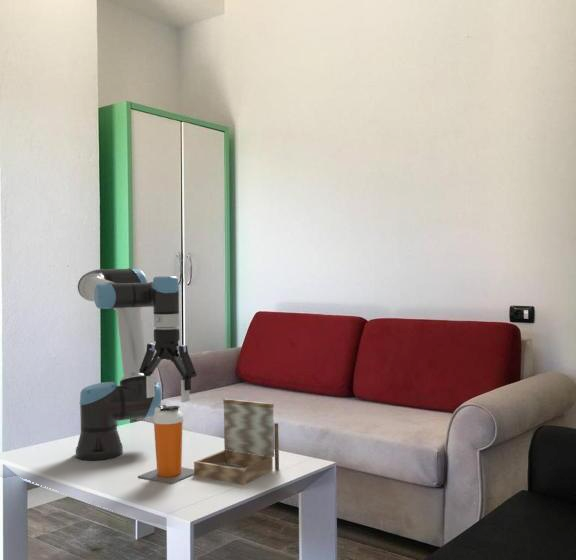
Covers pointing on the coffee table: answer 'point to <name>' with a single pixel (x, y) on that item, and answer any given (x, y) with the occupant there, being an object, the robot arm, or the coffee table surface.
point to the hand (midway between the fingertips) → (167, 399)
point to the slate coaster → (154, 476)
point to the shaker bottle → (168, 440)
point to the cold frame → (243, 443)
